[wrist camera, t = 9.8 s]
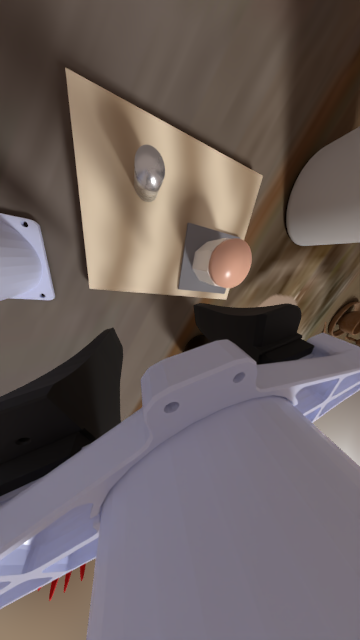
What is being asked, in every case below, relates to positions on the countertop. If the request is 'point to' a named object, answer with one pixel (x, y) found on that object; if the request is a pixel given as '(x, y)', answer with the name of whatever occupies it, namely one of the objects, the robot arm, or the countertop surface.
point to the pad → (193, 242)
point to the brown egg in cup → (223, 262)
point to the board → (135, 214)
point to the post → (148, 172)
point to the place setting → (346, 322)
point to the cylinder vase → (328, 196)
